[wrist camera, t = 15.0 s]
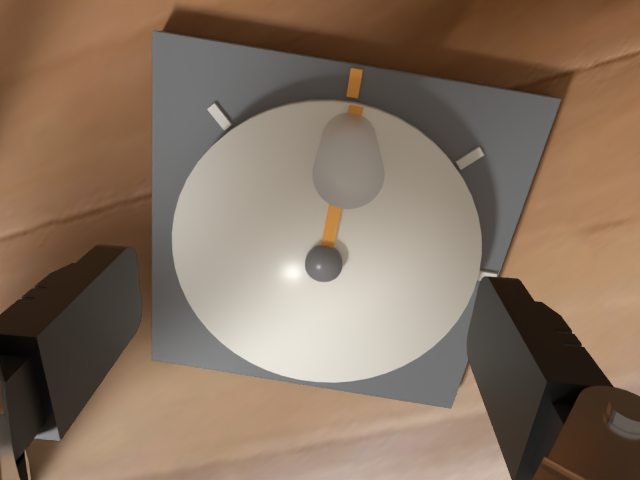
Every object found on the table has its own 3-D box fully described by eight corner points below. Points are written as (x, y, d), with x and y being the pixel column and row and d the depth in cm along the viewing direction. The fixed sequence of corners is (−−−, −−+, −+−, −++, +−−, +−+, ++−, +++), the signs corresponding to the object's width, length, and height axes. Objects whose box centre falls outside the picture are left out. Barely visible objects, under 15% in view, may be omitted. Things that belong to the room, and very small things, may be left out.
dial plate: (447, 395, 39) (451, 410, 37) (158, 348, 38) (150, 361, 37) (551, 95, 29) (562, 99, 27) (161, 30, 28) (151, 31, 27)
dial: (428, 389, 36) (449, 488, 28) (172, 342, 36) (123, 429, 28) (520, 134, 28) (585, 175, 20) (188, 69, 28) (125, 85, 20)
